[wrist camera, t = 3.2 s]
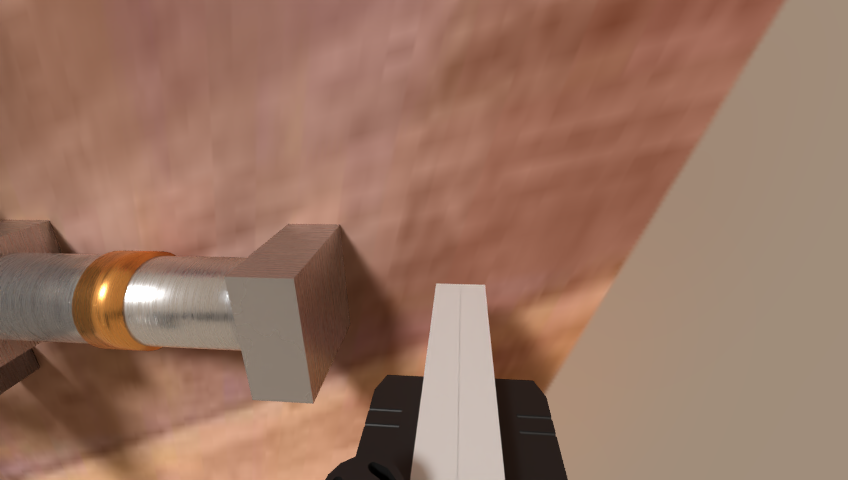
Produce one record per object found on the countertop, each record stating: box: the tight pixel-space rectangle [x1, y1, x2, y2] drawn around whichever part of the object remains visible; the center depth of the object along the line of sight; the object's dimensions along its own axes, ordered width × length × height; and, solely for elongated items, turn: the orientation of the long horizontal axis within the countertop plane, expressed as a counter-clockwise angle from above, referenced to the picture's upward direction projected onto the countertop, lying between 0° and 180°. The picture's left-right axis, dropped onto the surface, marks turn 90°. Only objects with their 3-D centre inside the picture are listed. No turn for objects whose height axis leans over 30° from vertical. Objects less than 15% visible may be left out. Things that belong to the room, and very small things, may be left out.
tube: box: [0, 220, 350, 403], centre depth 14 cm, size 14×4×4 cm, turn 91°
